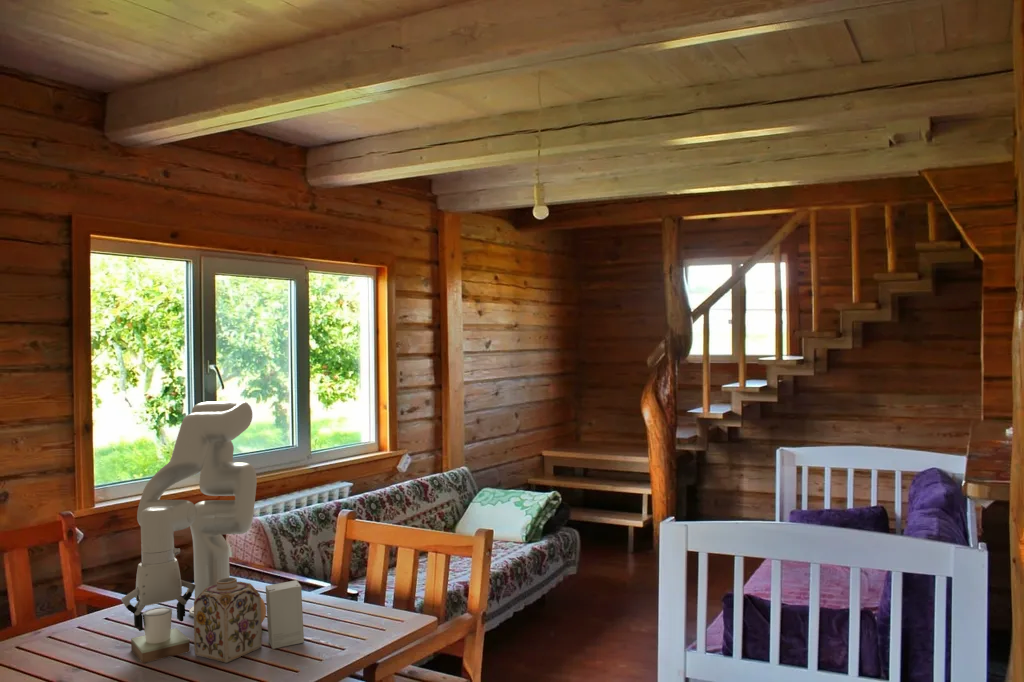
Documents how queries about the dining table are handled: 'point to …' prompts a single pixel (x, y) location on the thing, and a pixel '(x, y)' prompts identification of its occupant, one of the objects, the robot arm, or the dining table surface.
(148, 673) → the dining table surface
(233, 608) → the decorative jar
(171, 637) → the plinth
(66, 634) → the dining table surface
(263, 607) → the egg
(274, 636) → the skincare box
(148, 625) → the beige cylinder
